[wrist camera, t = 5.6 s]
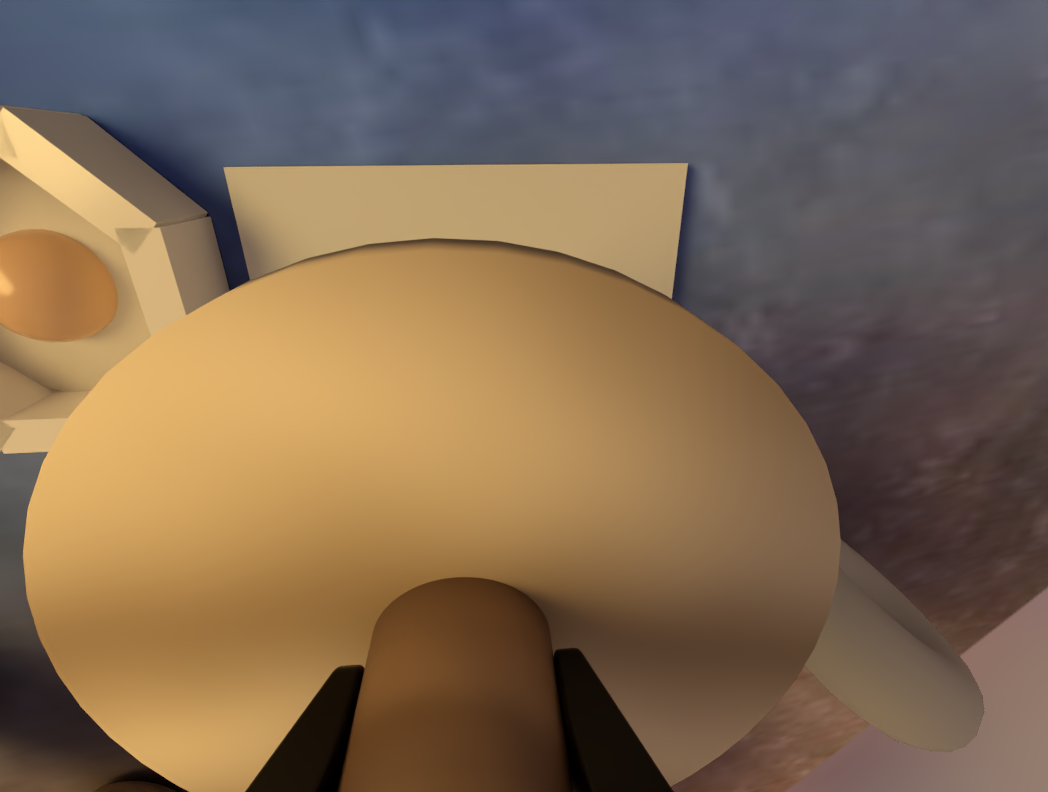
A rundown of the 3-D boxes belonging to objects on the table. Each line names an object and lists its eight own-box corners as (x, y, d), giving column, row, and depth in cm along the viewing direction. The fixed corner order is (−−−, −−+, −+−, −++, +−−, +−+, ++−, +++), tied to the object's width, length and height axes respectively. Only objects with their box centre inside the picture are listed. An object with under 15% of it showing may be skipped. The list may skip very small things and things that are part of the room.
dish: (266, 396, 21) (224, 443, 17) (3, 406, 20) (-96, 458, 16) (197, 116, 16) (122, 104, 13) (-141, 116, 16) (-315, 104, 12)
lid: (740, 768, 13) (883, 1104, 8) (203, 820, 12) (33, 1226, 7) (897, 227, 7) (1611, 346, 3) (-95, 251, 6) (-1572, 490, 2)
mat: (642, 513, 24) (645, 520, 23) (315, 533, 23) (312, 541, 22) (682, 162, 17) (687, 163, 17) (230, 166, 16) (223, 167, 16)
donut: (682, 509, 24) (806, 721, 15) (734, 457, 23) (901, 651, 14) (814, 590, 27) (984, 806, 18) (865, 547, 26) (1072, 754, 17)
